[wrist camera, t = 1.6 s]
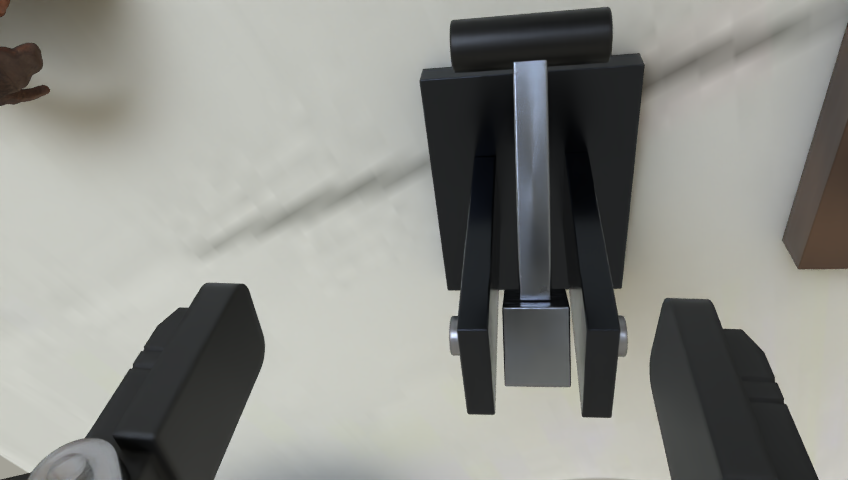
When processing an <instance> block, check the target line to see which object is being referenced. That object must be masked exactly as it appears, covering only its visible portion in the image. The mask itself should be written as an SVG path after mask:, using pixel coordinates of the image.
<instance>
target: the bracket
mask: <svg viewBox="0 0 848 480" xmlns="http://www.w3.org/2000/svg"><path fill="white" fill-rule="evenodd" d="M644 66H645V65H644V63H643V60H642V58H641V55H640V54H639V53H638V54H624V55H611V57H610V60H609V62H607V63H594V64H580V65H565V66H551V67H548V117H549V173H550V229H551V285H552V289H569V293H570V303H571V313H572V323H573V333H574V343H575V353H576V363H577V373H578V383H579V393H580V402H581V412H582V417H597V418H611V416H612V408H613V399H614V389H615V380H616V371H617V361H618V357H624V356H626V353H627V344H628V339H627V326H626V321H625V318H624V316H618V312H617V306H616V301H615V295H614V290H613V289H621V288H622V280H623V270H624V261H625V251H626V241H627V231H628V222H629V212H630V202H631V192H632V183H633V173H634V163H635V153H636V144H637V134H638V124H639V114H640V105H641V95H642V85H643V75H644ZM420 87H421V95H422V102H423V110H424V117H425V125H426V132H427V139H428V147H429V154H430V162H431V169H432V177H433V184H434V191H435V199H436V206H437V214H438V221H439V229H440V236H441V243H442V251H443V258H444V266H445V273H446V281H447V288H448V290H461V291H460V301H459V311H458V316H452V317H451V320H450V329H449V341H450V351H451V354H452V355H460V360H461V368H462V376H463V384H464V391H465V399H466V407H467V413H468V414H481V415H494V414H495V401H496V368H497V335H498V301H499V290H506V289H519V278H518V242H517V206H516V169H515V133H514V97H513V69H509V70H495V71H480V72H466V73H454V71H453V68H452V67H445V68H431V69H423V71H422V74H421V78H420Z"/></svg>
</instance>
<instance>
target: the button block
mask: <svg viewBox="0 0 848 480" xmlns="http://www.w3.org/2000/svg"><path fill="white" fill-rule="evenodd" d="M782 241H783V243H784V244H785V246H786V248H787V250H788V252H789V254H790V255H791V257H792V259H793V261H794V263H795V264H796V266H797V268H798V269H848V24H847V27H846V30H845V34H844V37H843V40H842V44H841V47H840V50H839V54H838V57H837V60H836V64H835V67H834V70H833V74H832V77H831V80H830V83H829V87H828V90H827V93H826V97H825V100H824V103H823V107H822V110H821V113H820V117H819V120H818V123H817V127H816V130H815V133H814V137H813V140H812V143H811V147H810V150H809V153H808V156H807V160H806V163H805V166H804V170H803V173H802V176H801V180H800V183H799V186H798V190H797V193H796V196H795V200H794V203H793V206H792V210H791V213H790V216H789V219H788V223H787V226H786V229H785V233H784V236H783V239H782Z"/></svg>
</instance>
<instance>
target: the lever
mask: <svg viewBox="0 0 848 480" xmlns="http://www.w3.org/2000/svg"><path fill="white" fill-rule="evenodd" d="M612 39H613V24H612V13H611V10H610V8H609V7H601V8H589V9H578V10H566V11H554V12H542V13H531V14H519V15H507V16H496V17H484V18H472V19H460V20H452V21H451V24H450V52H451V62H452V68H453V71H454V73H466V72H480V71H495V70H509V69H513V97H514V133H515V169H516V206H517V242H518V278H519V289H506V290H505V291H504V299H503V307H502V314H503V345H504V376H505V386H527V387H570V386H571V356H570V307H569V303H568V299H567V295H566V291H565V289H552V285H551V229H550V173H549V117H548V67H551V66H565V65H580V64H594V63H607V62H609V60H610V57H611V52H612Z"/></svg>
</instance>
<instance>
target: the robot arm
mask: <svg viewBox="0 0 848 480" xmlns="http://www.w3.org/2000/svg"><path fill="white" fill-rule="evenodd" d="M264 353H265V341H264V336H263V333H262V329H261V326H260V323H259V320H258V317H257V314H256V311H255V308H254V304H253V301H252V298H251V295H250V292H249V289H248V288H247V286H246V285H244V284H233V283H206V284H204V285H203V286H202V287H201V289H200V290H199V292H198V293H197V295H196V297H195V298H194V300H193V302H192V303H191V305H190V306H189V308H178V309H177V310H176V311H175V312H173V313H172V314H171V315H170V316H169V317H167V318H166V319H165V320H164V321H163V322H162V323H160V324H159V325H158V326H157V328H156V329H155V331H154V332H153V334H152V335H151V337H150V338H149V340H148V341H147V343H146V345H145V346H144V351H141V352H140V354H139V355H138V357H137V359H136V360H135V362H134V363H133V368H132V369H129V371H128V373H127V374H126V376H125V377H124V379H123V380H122V382H121V383H120V385H119V387H118V388H117V390H116V391H115V393H114V394H113V396H112V397H111V399H110V400H109V402H108V404H107V405H106V407H105V408H104V410H103V411H102V413H101V414H100V416H99V418H98V419H97V421H96V422H95V424H94V425H93V427H92V428H91V430H90V432H89V433H88V434H87V436H86V437H85V438H84V439H80V440H76V441H73V442H70V443H68V444H65V445H63V446H61V447H59V448H58V449H56V450H55V451H53V452H52V453H50V454H49V455H48V456H46V457H45V458H44V459H43V460H42V461H41V462H40V463H39V464H38V465H37V466H36V467H35V469H34V470H33V471H32V472H31V473H27V474H23V475H19V476H14V477H10V478H6V479H1V480H214V478H215V475H216V473H217V471H218V468H219V466H220V464H221V461H222V459H223V457H224V454H225V452H226V449H227V447H228V445H229V442H230V440H231V438H232V435H233V433H234V431H235V428H236V426H237V424H238V421H239V419H240V417H241V414H242V412H243V409H244V407H245V405H246V402H247V400H248V398H249V395H250V393H251V391H252V388H253V386H254V384H255V381H256V379H257V377H258V374H259V372H260V369H261V367H262V364H263V360H264ZM650 383H651V389H652V394H653V398H654V403H655V407H656V412H657V416H658V421H659V425H660V430H661V434H662V439H663V444H664V448H665V453H666V457H667V462H668V466H669V471H670V475H671V480H819V479H818V477H817V475H816V472H815V470H814V468H813V465H812V463H811V461H810V458H809V456H808V454H807V451H806V449H805V447H804V444H803V442H802V440H801V437H800V435H799V433H798V430H797V428H796V426H795V423H794V421H793V419H792V416H791V414H790V412H789V409H788V407H787V405H786V404H784V398H783V395H782V393H781V391H780V388H779V386H778V384H777V383H775V377H774V374H773V372H772V370H771V367H770V365H769V363H768V360H767V358H766V356H765V353H764V352H763V351H762V350H761V349H760V348H759V347H758V346H757V344H756V343H755V342H754V341H753V340H752V339H751V338H750V337H749V336H748V335H747V334H746V333H745V332H744V331H743V330H741V329H723V328H722V326H721V323H720V320H719V318H718V315H717V312H716V310H715V307H714V305H713V303H712V302H711V301H710V300H709V299H680V298H666V299H665V300H664V302H663V304H662V308H661V312H660V317H659V321H658V325H657V329H656V334H655V338H654V342H653V347H652V351H651V356H650Z"/></svg>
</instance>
